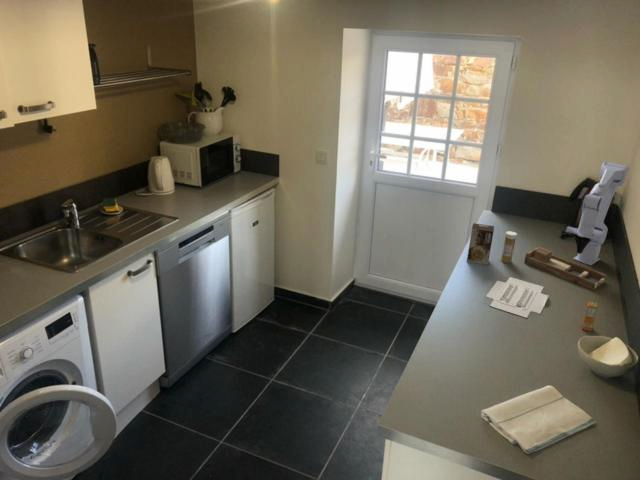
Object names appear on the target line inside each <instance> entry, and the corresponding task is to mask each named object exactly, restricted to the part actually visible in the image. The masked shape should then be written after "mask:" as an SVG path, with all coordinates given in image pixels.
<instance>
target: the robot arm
mask: <svg viewBox="0 0 640 480" xmlns="http://www.w3.org/2000/svg"><path fill="white" fill-rule="evenodd" d="M629 170H630V167H629V165H624V164H623V165H622V164H619V163H613V162H608V161H604V162H602V164H601V167H600V170H599V178H600V181H599V182H598V183H596V184H594V186H593V187H592V189H591V191H590V192H589V193H588V194H585V196H584V197H583V198H584V199H583V201H582V208H581V211H582V212H581V216H580V221H579V224H578V227H572V226H567V227H566V230H565V233H571V234H574V235H575V237H574V240H575V241H574V242H575V243H576V253H577V255H576V256H574V257H573V258H572V259H573V260H574V261H575V260H576V261H577V262H581V263H583V264H585V265H588V266H592V265H594V264H595V263H596V262H598V261H600V259H601V258H599V256H600V251H601V248H602V244H604V242H605V240H606V238H607V235H608V229H609V228H608V227H607V225H606V224H605V219H606V216H607V213H608V210H609V207H610V205H611V202H612V200H613V197H614V194H615V193H616V191H617V189H618V187H622V186H623V185H624V184H625V182H626V179H627V177H628V173H629Z"/></svg>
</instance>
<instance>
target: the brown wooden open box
mask: <svg viewBox="0 0 640 480" xmlns="http://www.w3.org/2000/svg"><path fill="white" fill-rule="evenodd" d="M540 248H541V247H540V246H538V247H536V248H534V249H532V250H530V251H529V252H527V253H526V254H525V257H524V262H523V263H524V264H526V265H529V266H531V267H534V268H536V269H539V270H542V271H544V272H547V273H549V274H552V275H554V276H556V277H559V278H561V279H564V280H567V281H569V282H573V283H575V284H577V285H579V286H582V287H584V288H586V289H589V290H592V291H594V290H595V289H597V288H598V287H599V286H600V284H601V285H602V284H603V283H605V281H606V278H607V274H605V273H603V272H599V271H598V270H595V269H591V268H589V267H587V266H584V265H581V264H578V263H577V262H573V261H570V260H567V259H565V258H562V257H559V256H558V255H557V256H556V255H554V254H552V255H551V259H550V260H549V261H547V262H546V263H544V262H542V261H539V260H536V259H534V256H535V252H536V250H538V249H540ZM597 286H598V287H597ZM593 289H594V290H593Z"/></svg>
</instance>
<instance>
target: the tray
mask: <svg viewBox="0 0 640 480" xmlns="http://www.w3.org/2000/svg"><path fill="white" fill-rule="evenodd" d="M544 288H545V287H544V286H543V285H538V284H536V283H532V282H529V281H525V280H521V279H518V278H515V277H511V276H510V277H509V278H508V279H507V281H506V282H504V281H500V280H496V282H495V284H493V286H492V287H491V289H490V290H489V292H488V293H487V294H486V295H485V298H487V299H491V300H492V302H491V303H490V305H489V307H493V308H495V309H498V310H502V311H504V312H508V313H511V314H514V315H517V316H519V317H523V318H526V319H528V317H529V316H530V314H531V313H534V314H537V315H538V314H539V315H541V313H542V311H543V309H544V308H545V305H546V304H547V302H548V299H549V298H550V295H548V294H544V293H542V292H543V290H544Z"/></svg>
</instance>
